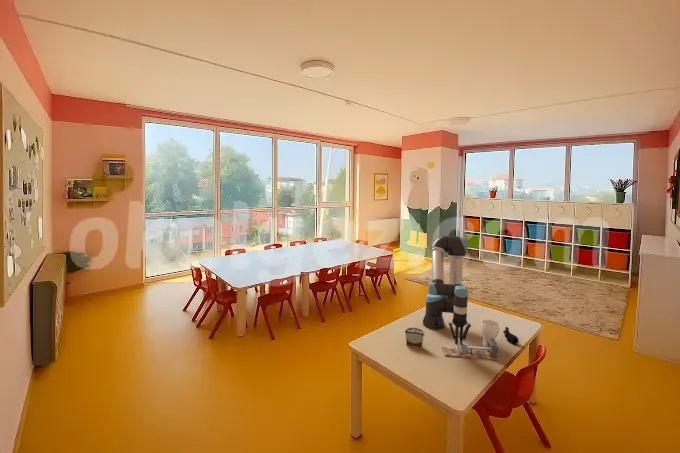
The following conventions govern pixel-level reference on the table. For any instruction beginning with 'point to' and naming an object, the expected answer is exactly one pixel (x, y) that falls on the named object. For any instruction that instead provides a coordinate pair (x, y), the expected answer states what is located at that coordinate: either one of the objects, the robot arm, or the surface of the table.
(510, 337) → the toy
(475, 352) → the gauge bed
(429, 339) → the table surface
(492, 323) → the cup
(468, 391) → the table surface
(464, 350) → the grey hammer
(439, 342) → the table surface
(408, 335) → the food container
